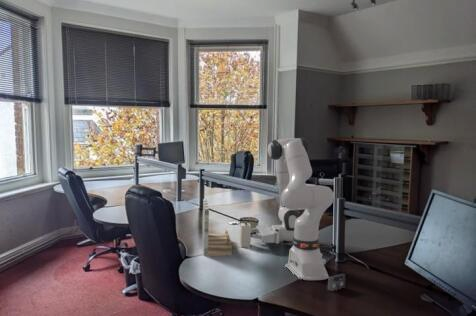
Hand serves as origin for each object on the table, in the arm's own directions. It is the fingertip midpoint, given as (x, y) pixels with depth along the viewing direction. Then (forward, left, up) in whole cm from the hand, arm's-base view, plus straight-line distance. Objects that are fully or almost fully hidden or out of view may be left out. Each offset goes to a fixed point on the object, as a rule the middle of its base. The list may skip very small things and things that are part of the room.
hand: (250, 233), depth 202 cm
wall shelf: (-2, +18, -7) cm, 19 cm away
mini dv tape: (-55, -27, -7) cm, 62 cm away
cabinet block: (0, +3, -7) cm, 8 cm away
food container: (+21, -3, -7) cm, 22 cm away
